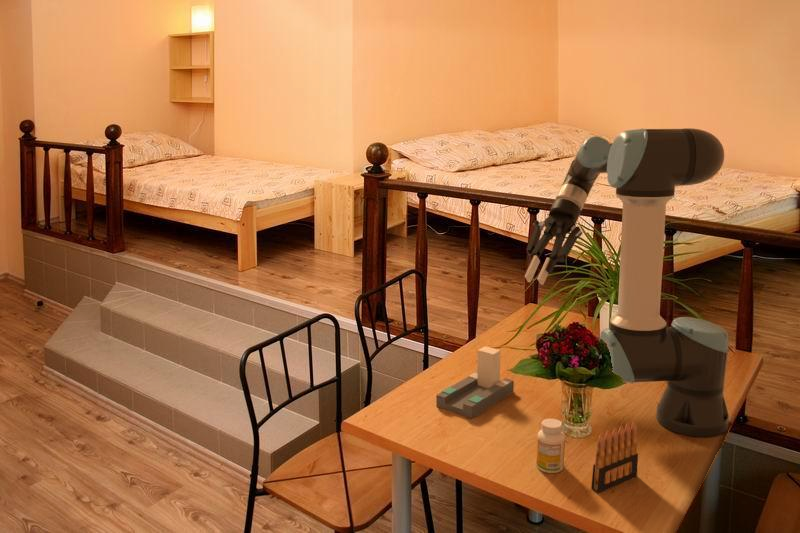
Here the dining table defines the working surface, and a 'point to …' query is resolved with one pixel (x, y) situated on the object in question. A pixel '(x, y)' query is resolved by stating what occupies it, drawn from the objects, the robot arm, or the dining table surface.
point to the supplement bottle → (550, 446)
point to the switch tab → (488, 367)
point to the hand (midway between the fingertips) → (533, 280)
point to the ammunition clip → (615, 458)
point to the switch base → (473, 396)
